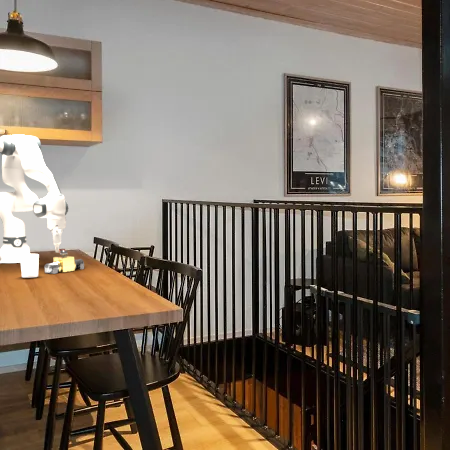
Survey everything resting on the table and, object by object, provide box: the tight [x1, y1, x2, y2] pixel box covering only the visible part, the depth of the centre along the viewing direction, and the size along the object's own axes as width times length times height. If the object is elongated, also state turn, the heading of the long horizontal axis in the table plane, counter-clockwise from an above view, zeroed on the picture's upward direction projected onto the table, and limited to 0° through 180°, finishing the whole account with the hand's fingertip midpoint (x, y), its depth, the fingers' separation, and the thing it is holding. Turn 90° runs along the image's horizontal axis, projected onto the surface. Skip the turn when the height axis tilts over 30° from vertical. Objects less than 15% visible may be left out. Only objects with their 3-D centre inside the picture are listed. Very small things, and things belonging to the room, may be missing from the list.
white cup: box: [20, 253, 40, 279], centre depth 215 cm, size 8×8×10 cm
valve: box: [44, 255, 85, 275], centre depth 232 cm, size 20×7×8 cm, turn 148°
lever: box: [58, 248, 68, 256], centre depth 236 cm, size 14×3×2 cm, turn 24°
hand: (57, 252), depth 238 cm, fingers closed, pressing on lever
